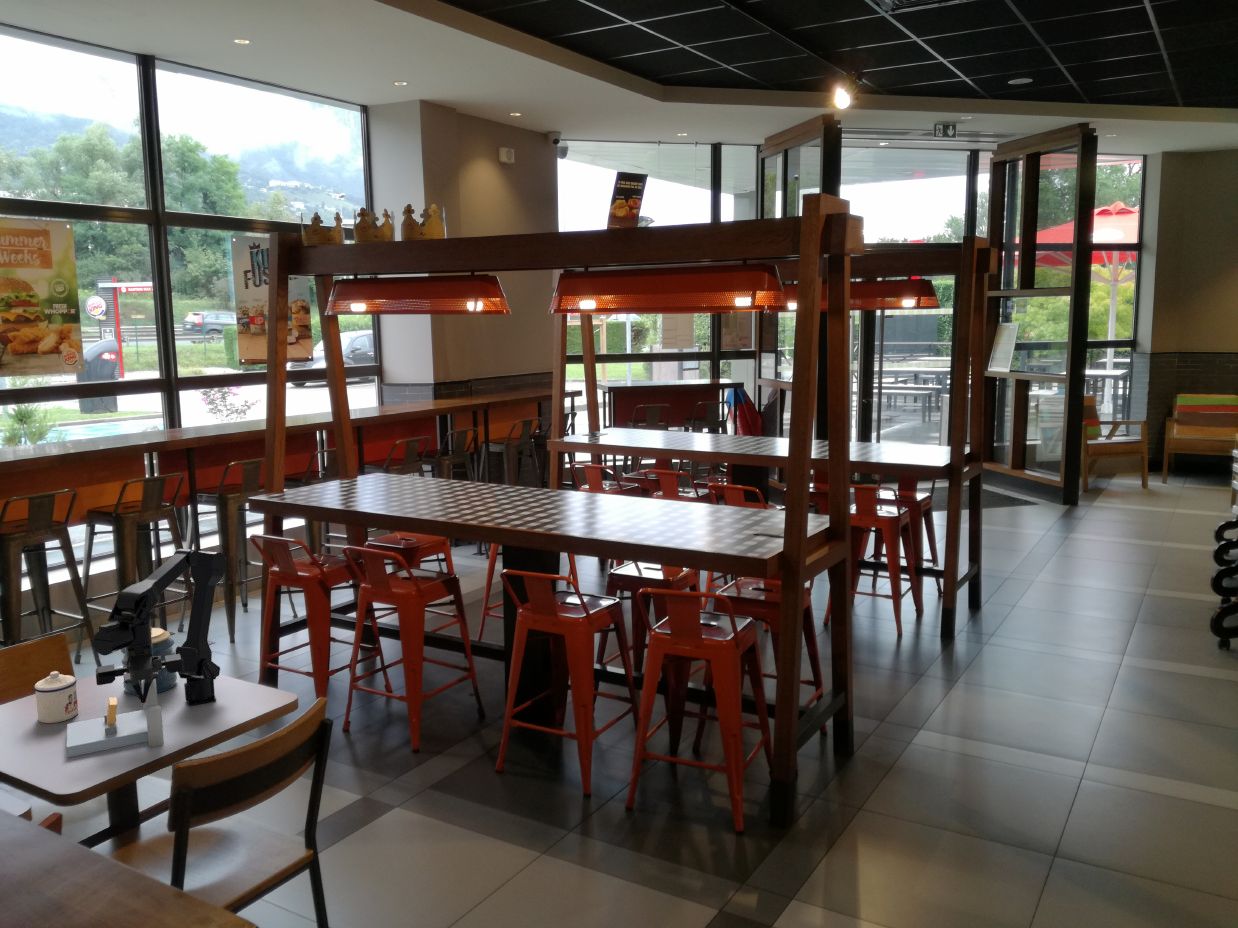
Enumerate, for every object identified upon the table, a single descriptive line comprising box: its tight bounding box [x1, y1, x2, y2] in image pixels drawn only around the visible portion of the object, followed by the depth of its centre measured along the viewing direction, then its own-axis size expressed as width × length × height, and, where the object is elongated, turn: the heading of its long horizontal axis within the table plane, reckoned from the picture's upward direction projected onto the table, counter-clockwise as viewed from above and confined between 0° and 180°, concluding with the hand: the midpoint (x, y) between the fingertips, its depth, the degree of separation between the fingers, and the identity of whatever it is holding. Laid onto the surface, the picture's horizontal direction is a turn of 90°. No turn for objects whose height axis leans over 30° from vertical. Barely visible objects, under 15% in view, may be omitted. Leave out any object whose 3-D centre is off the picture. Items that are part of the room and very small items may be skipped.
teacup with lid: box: [33, 670, 79, 724], centre depth 230 cm, size 12×9×12 cm
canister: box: [120, 626, 178, 696], centre depth 246 cm, size 13×13×18 cm
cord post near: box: [146, 704, 165, 748], centre depth 214 cm, size 3×3×9 cm
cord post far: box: [141, 679, 159, 710], centre depth 230 cm, size 3×3×9 cm
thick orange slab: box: [106, 697, 118, 724], centre depth 217 cm, size 2×5×5 cm, turn 30°
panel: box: [66, 709, 148, 758], centre depth 218 cm, size 18×14×4 cm
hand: (143, 702), depth 221 cm, fingers closed
